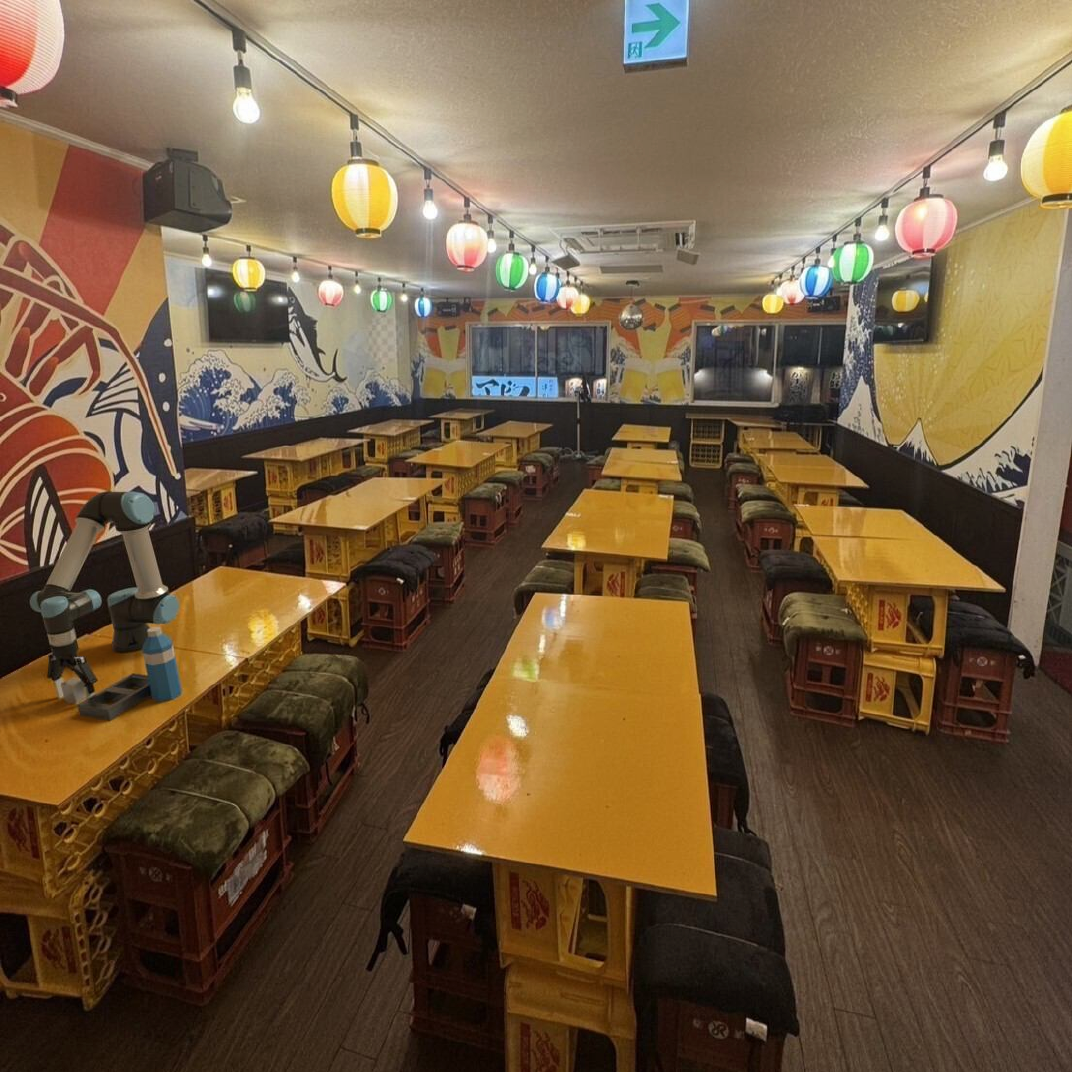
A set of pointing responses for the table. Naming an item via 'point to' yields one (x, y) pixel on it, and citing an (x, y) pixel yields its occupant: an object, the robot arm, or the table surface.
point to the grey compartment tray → (116, 698)
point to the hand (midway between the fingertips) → (77, 698)
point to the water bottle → (161, 666)
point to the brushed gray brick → (73, 690)
